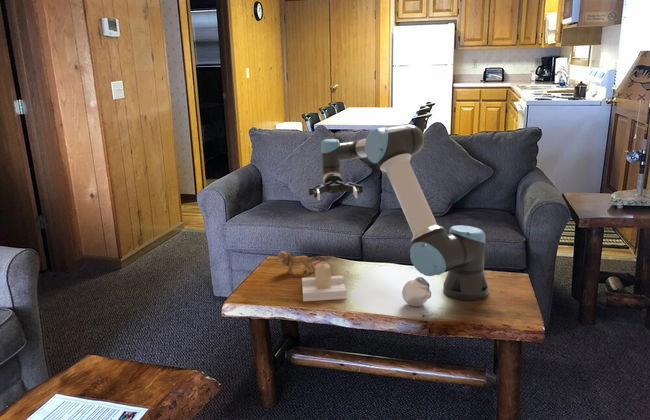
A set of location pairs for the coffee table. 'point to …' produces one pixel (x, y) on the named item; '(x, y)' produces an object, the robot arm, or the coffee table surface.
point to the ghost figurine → (416, 292)
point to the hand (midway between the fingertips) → (337, 195)
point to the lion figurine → (294, 261)
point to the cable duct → (323, 294)
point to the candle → (323, 275)
